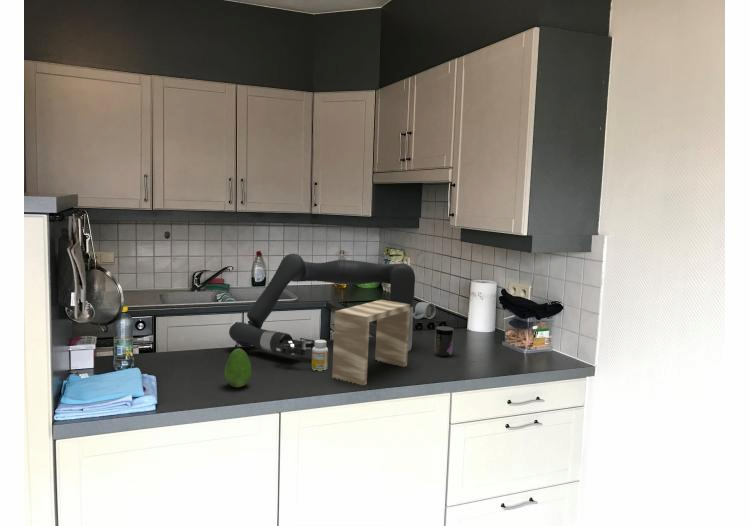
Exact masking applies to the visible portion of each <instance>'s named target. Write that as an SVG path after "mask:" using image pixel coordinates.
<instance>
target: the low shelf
mask: <svg viewBox="0 0 750 526" xmlns="http://www.w3.org/2000/svg"><path fill="white" fill-rule="evenodd" d="M409 316H410V304H405V303H398V302H392V301H389V300H385V299H378V300H374V301H370V302H366V303H362V304H358V305H353V306H350V307H347V308H346V307H345V308H342V309H338V310H334V318H333V319H334V320H333V344H332V346H333V348H332V349H333V350H332V374H331V377H332V379H334V378H336V379H335V380H338V379H340V380H339V381H342V380H343V382H346V381H348V382H347V383H350V382H352V383H351V384H354V383H356V384H355V385H358V384H359V386H362V387H363V385H364V386H365V385H368V384H367V383H368V382H367V381H368V366H369V365H368V361H369V358H368V357H369V340H370V323H371V322H375V321H376V330H375V331H376V333H375V334H376V335H375V355H374V361H375V360H377V362H380V361H381V362H380V363H383V364H389V365H395V366H397V365H398V366H399V367H402V368H405V367H407V366H408V352H409V351H408V335H409ZM398 366H397V367H398Z"/></svg>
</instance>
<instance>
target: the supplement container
mask: <svg viewBox="0 0 750 526" xmlns="http://www.w3.org/2000/svg"><path fill="white" fill-rule="evenodd" d="M454 331H455V330H454V328H453V327H450V326H443V325H441V326H440V325H439V326H436V327H435V336H434V355H435V356H436V357H437V358H438V357H439V358H450V357H452V355H453V344H454Z"/></svg>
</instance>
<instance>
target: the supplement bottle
mask: <svg viewBox="0 0 750 526" xmlns="http://www.w3.org/2000/svg"><path fill="white" fill-rule="evenodd" d="M314 344H315V347H313V348H312V349H311V369H313V370H312V371H315V370H318V371H317V372H323V371H322V370H325V371H327V370H328V367H329V363H328V362H329V349H328V347H327V341H326V340H325V339H317V340H314ZM326 369H327V370H326Z"/></svg>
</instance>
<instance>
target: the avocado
mask: <svg viewBox="0 0 750 526" xmlns="http://www.w3.org/2000/svg"><path fill="white" fill-rule="evenodd" d="M224 366H225V367H224V379H225V381H226V383H227V384H229V386H231V387H233V388H237V389H238V388H241V387H244V386H245V385H246V384H247V383H248V382H249V381H250V379H251V376H252V364H251V360H250V358H249V356H248V353H247V352H246V351H245V350H243V348H239V347H238V348H235V349H234V350H232V351H231V353H230V355H229V357H228V359H227V361H226V364H225V365H224Z"/></svg>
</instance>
